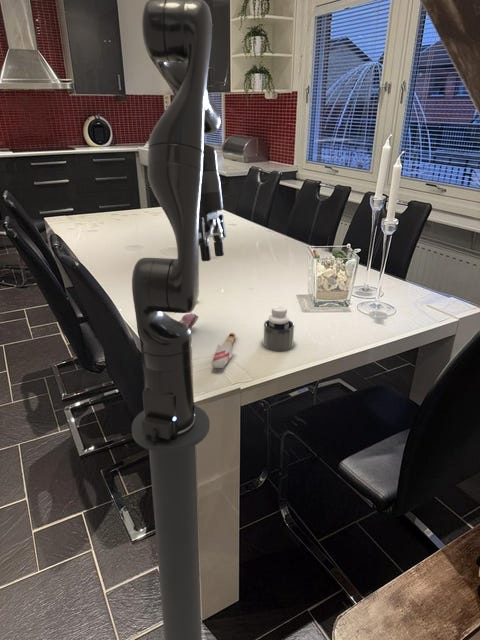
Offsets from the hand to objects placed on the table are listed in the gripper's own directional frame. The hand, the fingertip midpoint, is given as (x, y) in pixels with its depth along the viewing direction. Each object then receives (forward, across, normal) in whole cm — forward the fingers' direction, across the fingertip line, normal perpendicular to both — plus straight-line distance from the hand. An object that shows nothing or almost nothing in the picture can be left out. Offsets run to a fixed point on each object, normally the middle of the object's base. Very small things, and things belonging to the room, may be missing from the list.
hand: (213, 258), depth 117 cm
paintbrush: (+25, -2, -1) cm, 25 cm away
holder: (+25, +9, -12) cm, 30 cm away
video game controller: (+22, +6, +14) cm, 27 cm away
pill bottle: (+25, +8, -12) cm, 29 cm away
